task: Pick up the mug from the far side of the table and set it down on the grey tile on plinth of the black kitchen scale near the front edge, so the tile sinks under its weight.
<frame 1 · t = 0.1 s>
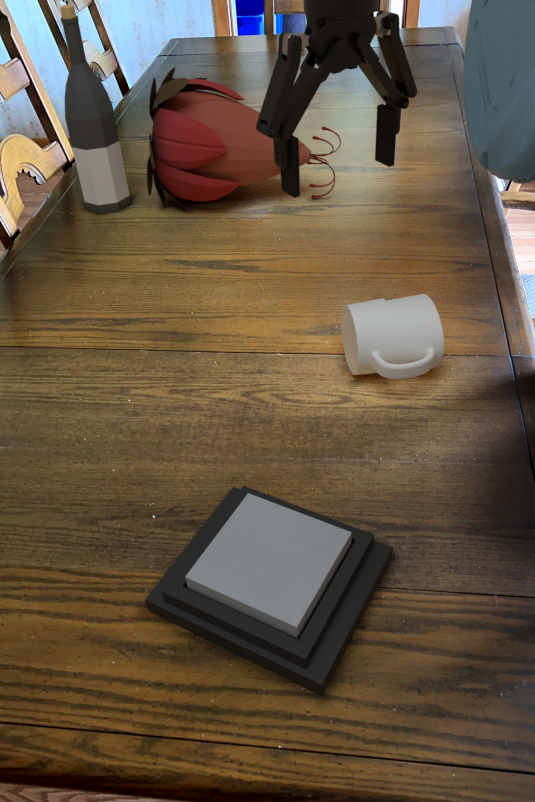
hand: (339, 177, 84), 17 cm above the table, tool pointing down, fingers open, 13 cm apart
decorative flower: (248, 193, 122), on the table
scale: (272, 584, 61), on the table
wine bottle: (108, 204, 122), on the table
mug: (390, 370, 83), on the table
grey tile on plinth: (270, 559, 59), point 3 cm above the table, slide at 0.0 cm
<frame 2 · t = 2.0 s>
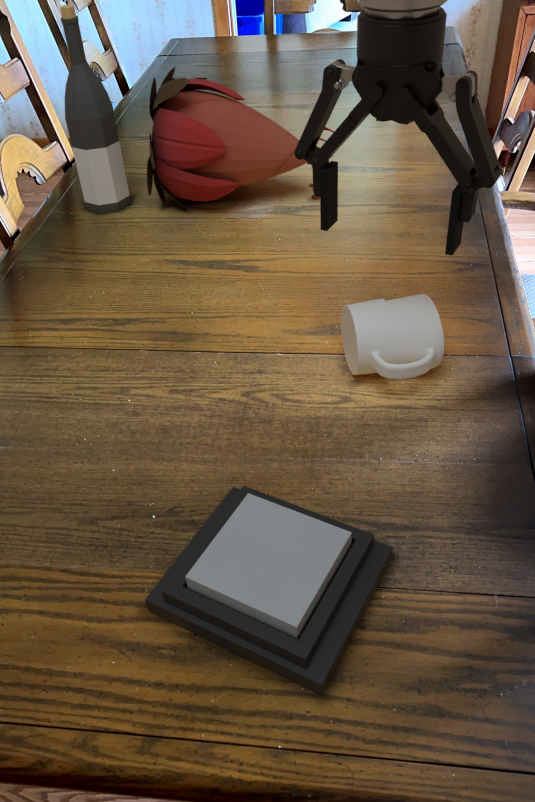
hand: (388, 236, 74), 16 cm above the table, tool pointing down, fingers open, 13 cm apart
nothing on the table moved.
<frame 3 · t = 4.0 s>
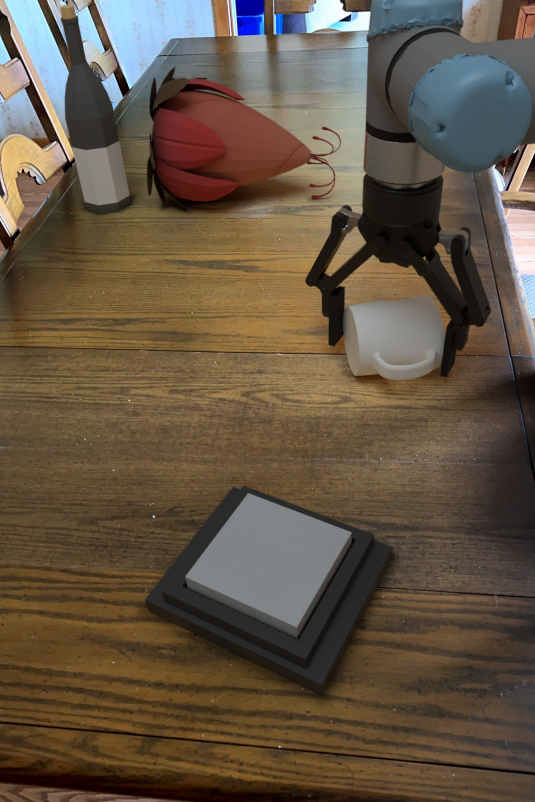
hand: (389, 354, 81), 2 cm above the table, tool pointing down, fingers closed on mug, 13 cm apart
mug: (392, 371, 82), on the table, touching gripper
everything else where it was.
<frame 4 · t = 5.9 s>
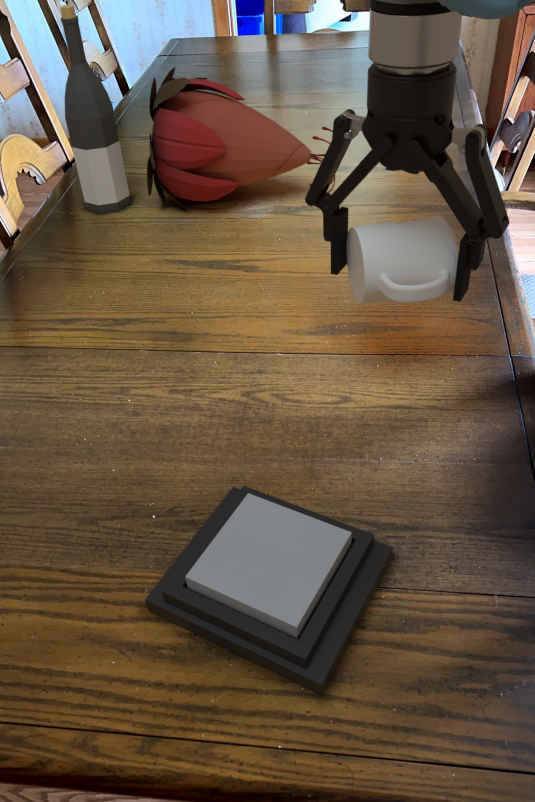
hand: (397, 281, 75), 12 cm above the table, tool pointing down, fingers closed on mug, 13 cm apart
mug: (400, 301, 76), point 10 cm above the table, touching gripper
everything else where it was.
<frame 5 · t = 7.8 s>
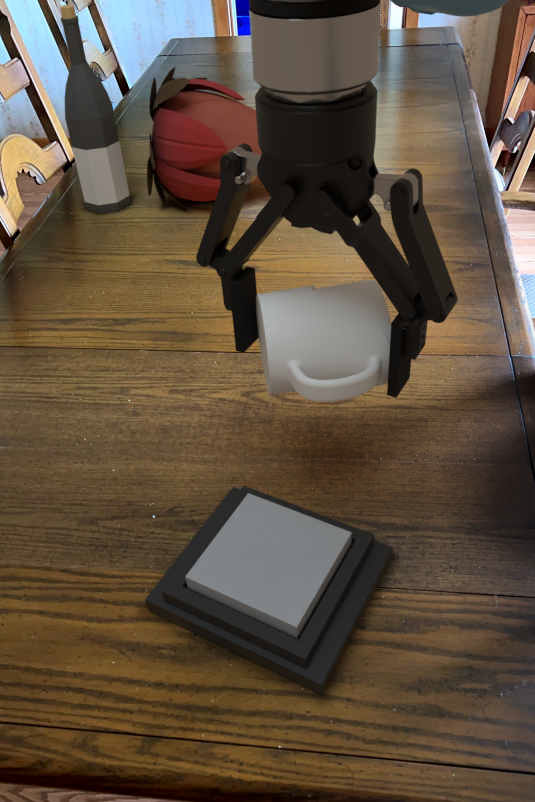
hand: (319, 364, 57), 16 cm above the table, tool pointing down, fingers closed on mug, 13 cm apart
mug: (324, 388, 58), point 14 cm above the table, touching gripper
everything else where it was.
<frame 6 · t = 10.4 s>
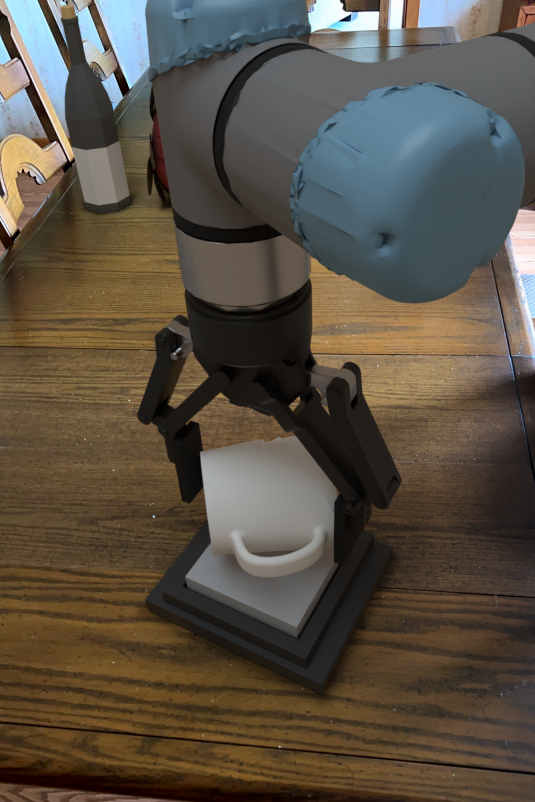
hand: (267, 519, 55), 8 cm above the table, tool pointing down, fingers closed on mug, 13 cm apart
mug: (272, 541, 56), point 6 cm above the table, touching gripper
everything else where it was.
when the fingers open (6 cm above the table, at t = 11.8 s): mug stays where it is, resting on grey tile on plinth.
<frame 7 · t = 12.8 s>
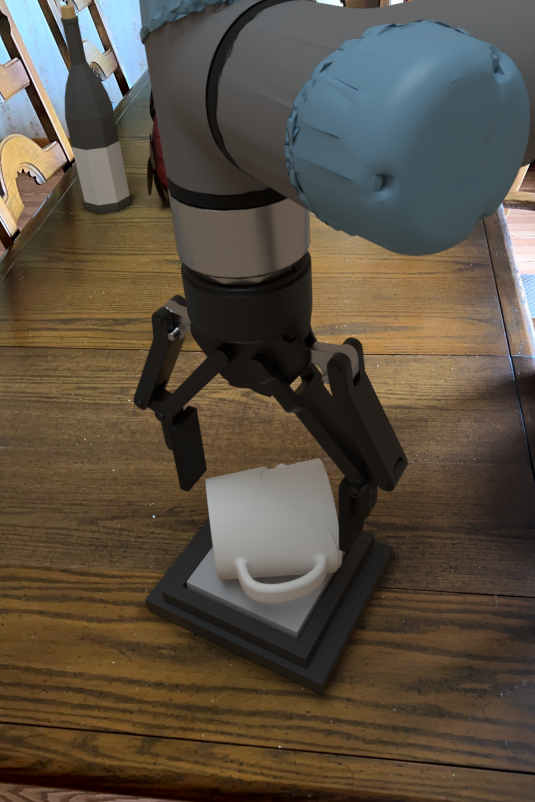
hand: (268, 507, 54), 10 cm above the table, tool pointing down, fingers open, 13 cm apart
mug: (275, 565, 58), point 3 cm above the table, touching grey tile on plinth
grey tile on plinth: (271, 564, 59), point 3 cm above the table, slide at -0.7 cm, touching mug
everything else where it was.
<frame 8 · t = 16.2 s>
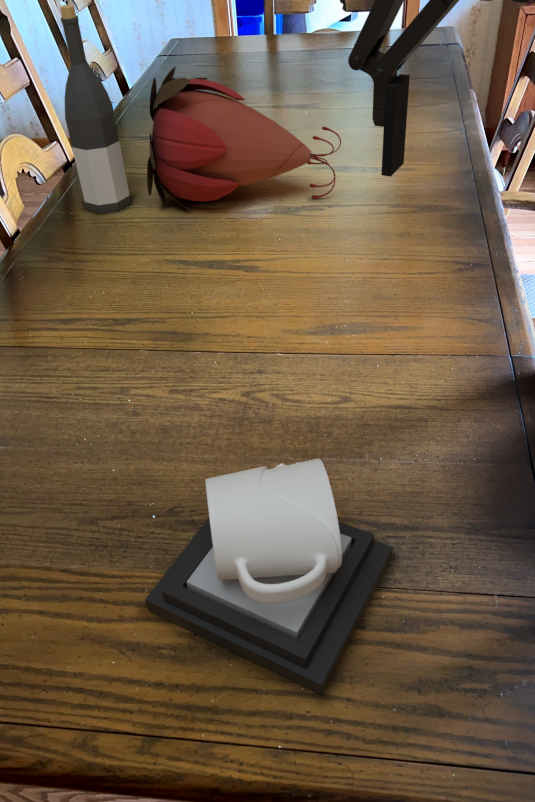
hand: (480, 183, 52), 29 cm above the table, tool pointing down, fingers open, 13 cm apart
nothing on the table moved.
at the end: mug inside the target area on the scale (0.6 cm from its centre), point 3.2 cm above the scale's base; mug tilted 0°; grey tile on plinth slide at -0.7 cm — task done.
